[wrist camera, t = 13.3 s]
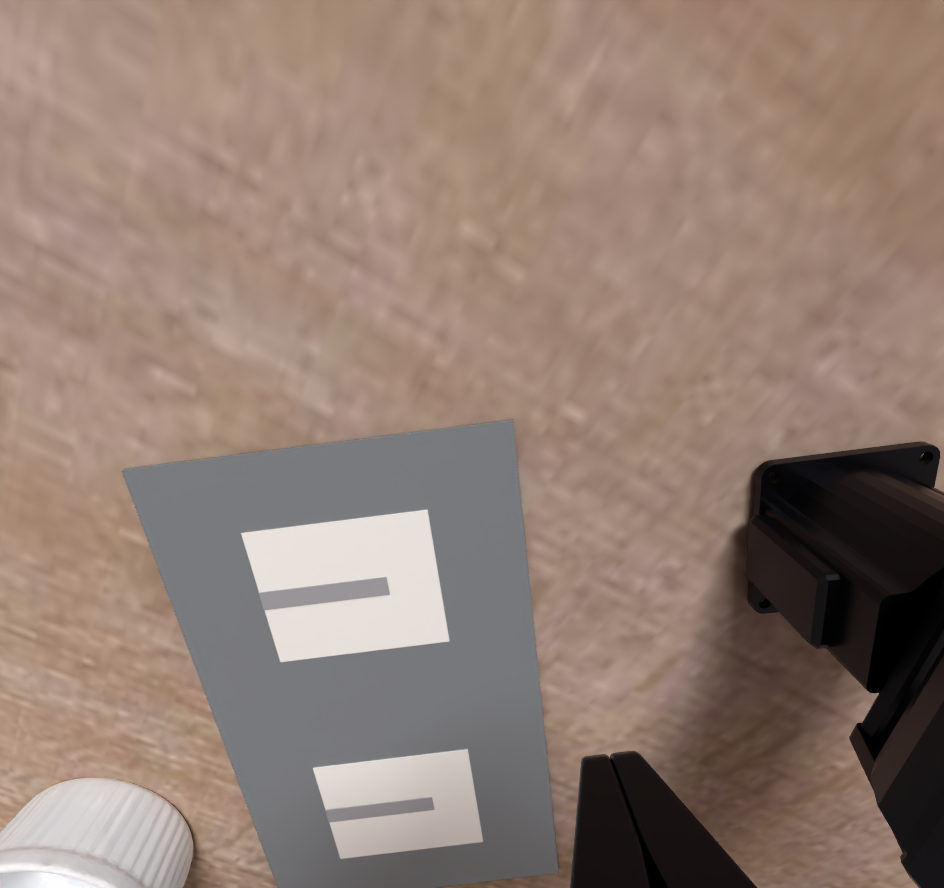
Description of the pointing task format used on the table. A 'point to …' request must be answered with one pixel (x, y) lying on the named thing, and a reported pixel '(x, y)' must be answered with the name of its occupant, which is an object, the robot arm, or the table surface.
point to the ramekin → (96, 839)
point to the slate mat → (366, 651)
